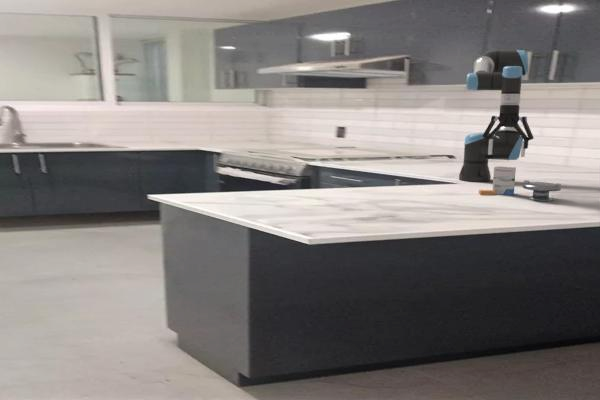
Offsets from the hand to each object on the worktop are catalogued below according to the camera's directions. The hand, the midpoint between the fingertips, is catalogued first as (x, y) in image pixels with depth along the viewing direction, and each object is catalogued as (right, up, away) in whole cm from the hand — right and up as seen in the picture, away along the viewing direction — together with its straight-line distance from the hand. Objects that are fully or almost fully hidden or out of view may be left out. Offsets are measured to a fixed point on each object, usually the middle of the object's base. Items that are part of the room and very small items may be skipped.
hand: (506, 155), depth 226 cm
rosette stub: (+11, -18, -9) cm, 23 cm away
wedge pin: (-8, -17, +2) cm, 18 cm away
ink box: (0, -16, +3) cm, 17 cm away
